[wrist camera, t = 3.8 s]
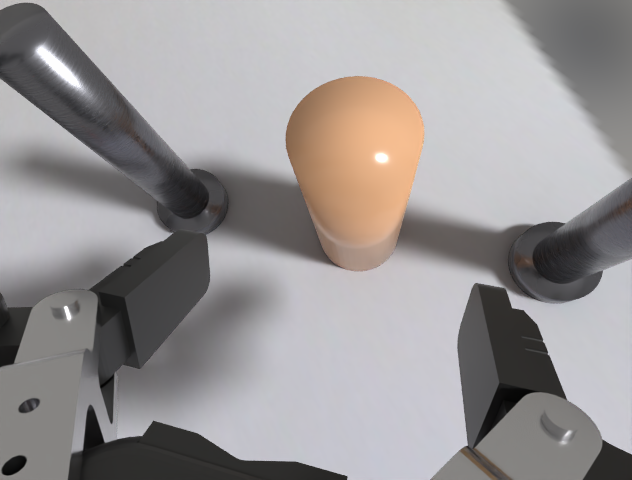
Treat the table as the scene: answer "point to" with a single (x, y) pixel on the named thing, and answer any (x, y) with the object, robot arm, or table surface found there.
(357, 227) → the canister
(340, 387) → the table surface
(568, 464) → the robot arm
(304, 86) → the table surface
